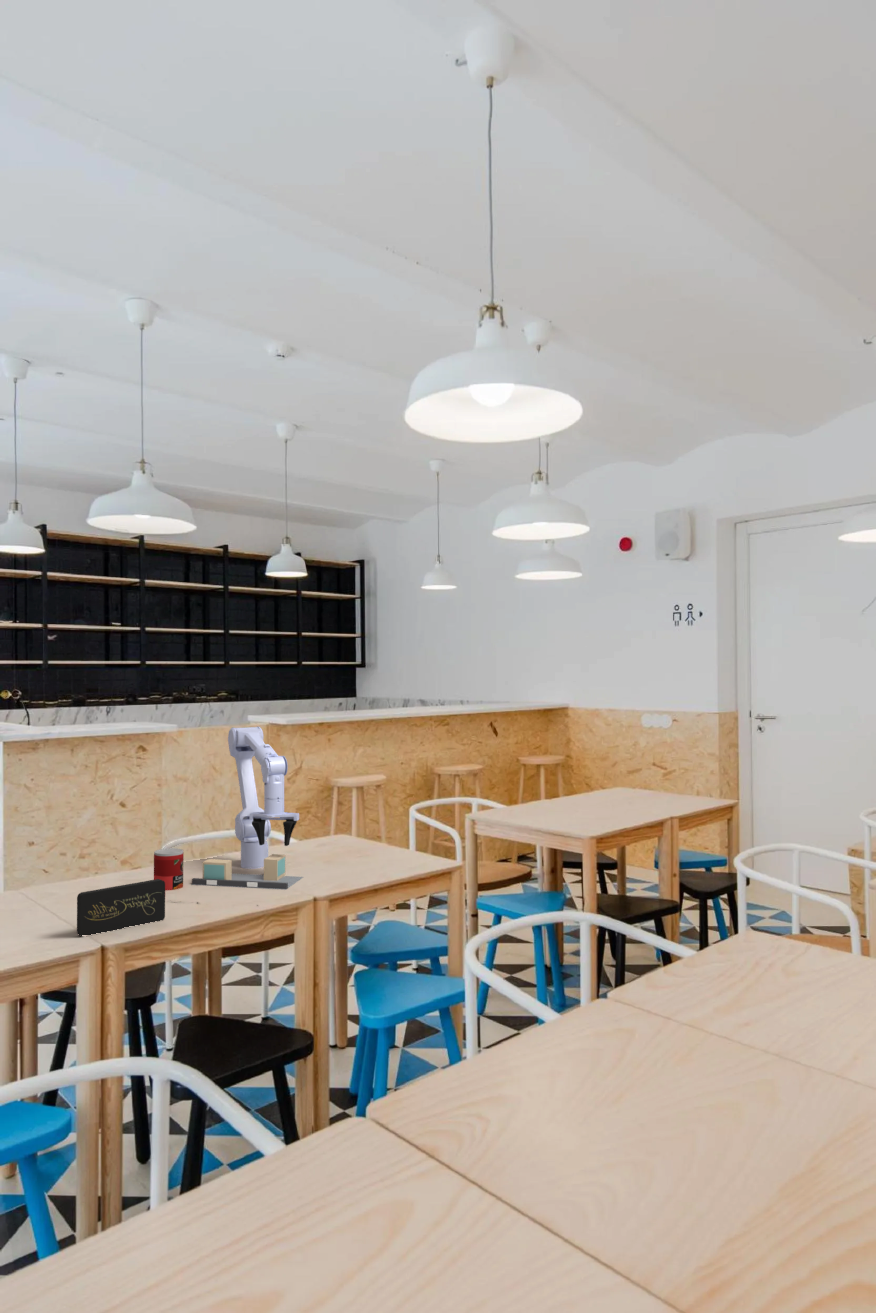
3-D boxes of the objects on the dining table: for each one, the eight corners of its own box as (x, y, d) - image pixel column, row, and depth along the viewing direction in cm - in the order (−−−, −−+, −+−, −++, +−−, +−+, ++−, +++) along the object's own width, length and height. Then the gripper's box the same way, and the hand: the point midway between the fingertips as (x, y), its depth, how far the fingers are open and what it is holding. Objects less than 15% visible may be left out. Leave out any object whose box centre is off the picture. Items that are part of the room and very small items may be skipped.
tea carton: (272, 874, 262) (272, 854, 262) (285, 875, 262) (285, 854, 262) (263, 880, 255) (263, 859, 256) (277, 880, 255) (277, 859, 255)
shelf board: (213, 875, 265) (213, 867, 265) (303, 880, 260) (303, 871, 260) (190, 888, 250) (191, 879, 250) (285, 893, 245) (286, 884, 245)
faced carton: (231, 881, 254) (231, 860, 254) (225, 884, 250) (225, 863, 250) (208, 880, 255) (208, 859, 255) (202, 883, 251) (202, 862, 251)
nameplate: (161, 918, 220) (161, 878, 220) (164, 920, 219) (165, 879, 219) (76, 936, 206) (77, 892, 206) (80, 938, 204) (80, 894, 204)
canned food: (178, 894, 243) (178, 853, 243) (149, 893, 243) (149, 853, 244) (186, 887, 251) (187, 848, 251) (158, 886, 251) (159, 847, 251)
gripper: (245, 799, 256) (245, 846, 256) (293, 800, 254) (293, 848, 253) (254, 796, 263) (254, 842, 263) (301, 797, 261) (301, 843, 260)
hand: (274, 844), depth 258 cm, fingers open, 7 cm apart
